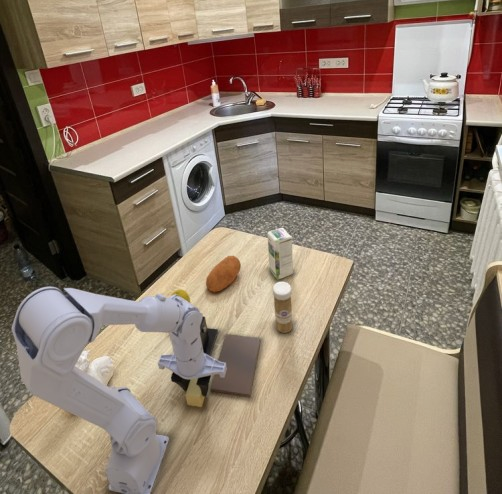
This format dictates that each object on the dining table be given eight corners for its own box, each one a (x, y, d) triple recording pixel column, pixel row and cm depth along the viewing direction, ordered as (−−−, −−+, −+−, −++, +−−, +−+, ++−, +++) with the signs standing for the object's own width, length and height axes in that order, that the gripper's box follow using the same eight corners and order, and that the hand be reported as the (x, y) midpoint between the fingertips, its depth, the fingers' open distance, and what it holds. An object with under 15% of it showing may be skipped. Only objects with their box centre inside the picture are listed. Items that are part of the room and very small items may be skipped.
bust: (115, 373, 85) (88, 335, 85) (126, 372, 80) (98, 333, 80) (69, 419, 76) (40, 377, 76) (79, 421, 71) (47, 377, 71)
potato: (247, 274, 110) (245, 259, 106) (217, 301, 102) (214, 285, 98) (231, 262, 114) (229, 247, 110) (201, 287, 106) (198, 272, 102)
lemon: (188, 321, 95) (183, 300, 91) (169, 319, 96) (164, 298, 93) (194, 305, 100) (190, 284, 96) (177, 303, 101) (172, 283, 98)
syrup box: (268, 269, 111) (265, 232, 105) (284, 263, 113) (282, 226, 107) (277, 280, 106) (275, 242, 100) (294, 273, 108) (292, 236, 102)
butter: (201, 407, 74) (199, 397, 73) (187, 405, 75) (185, 394, 73) (208, 384, 79) (206, 374, 77) (195, 382, 79) (193, 372, 78)
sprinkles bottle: (279, 336, 88) (276, 296, 83) (273, 322, 92) (270, 283, 87) (295, 330, 89) (294, 291, 84) (288, 316, 93) (286, 278, 88)
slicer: (206, 368, 82) (201, 343, 78) (175, 364, 84) (168, 339, 80) (218, 332, 91) (214, 307, 87) (189, 329, 92) (184, 305, 89)
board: (250, 397, 75) (249, 394, 75) (210, 391, 77) (210, 388, 77) (260, 340, 88) (260, 337, 87) (226, 336, 89) (226, 334, 89)
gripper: (227, 335, 73) (233, 377, 78) (163, 328, 76) (174, 368, 81) (218, 367, 66) (226, 410, 72) (148, 358, 69) (161, 400, 75)
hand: (197, 390), depth 76 cm, fingers closed on butter, 3 cm apart
